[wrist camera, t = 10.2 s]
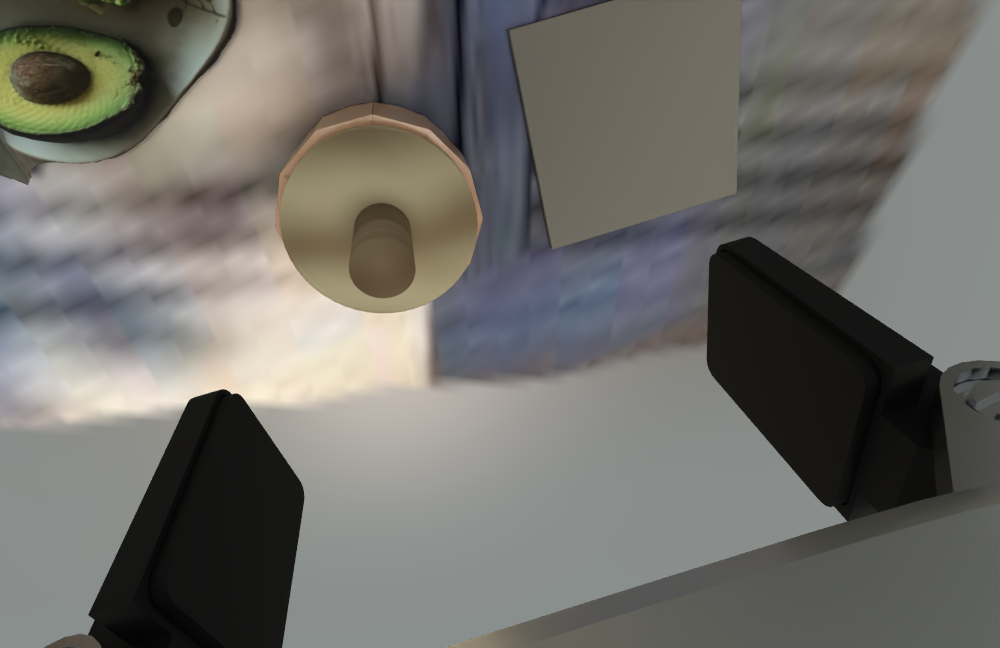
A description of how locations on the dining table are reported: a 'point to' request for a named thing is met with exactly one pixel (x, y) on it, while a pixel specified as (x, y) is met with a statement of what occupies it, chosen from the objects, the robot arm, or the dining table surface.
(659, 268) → the dining table surface
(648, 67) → the mat
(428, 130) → the bowl
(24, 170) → the salad plate
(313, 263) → the lid
